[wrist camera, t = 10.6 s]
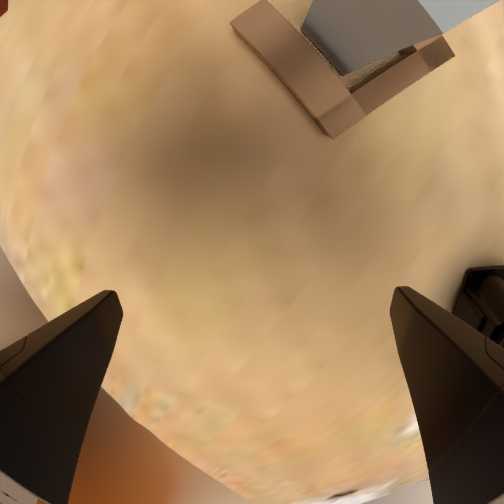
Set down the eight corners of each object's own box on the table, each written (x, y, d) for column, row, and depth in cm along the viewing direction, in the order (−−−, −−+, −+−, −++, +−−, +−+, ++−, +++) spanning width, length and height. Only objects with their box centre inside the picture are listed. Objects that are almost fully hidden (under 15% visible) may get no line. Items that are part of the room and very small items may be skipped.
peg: (385, 46, 15) (504, -2, 4) (342, 76, 16) (443, 33, 5) (345, 1, 14) (424, -91, 3) (300, 29, 15) (345, -70, 4)
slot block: (437, 58, 15) (455, 55, 12) (325, 134, 18) (333, 139, 16) (355, -41, 12) (364, -55, 10) (235, 32, 15) (229, 22, 13)
